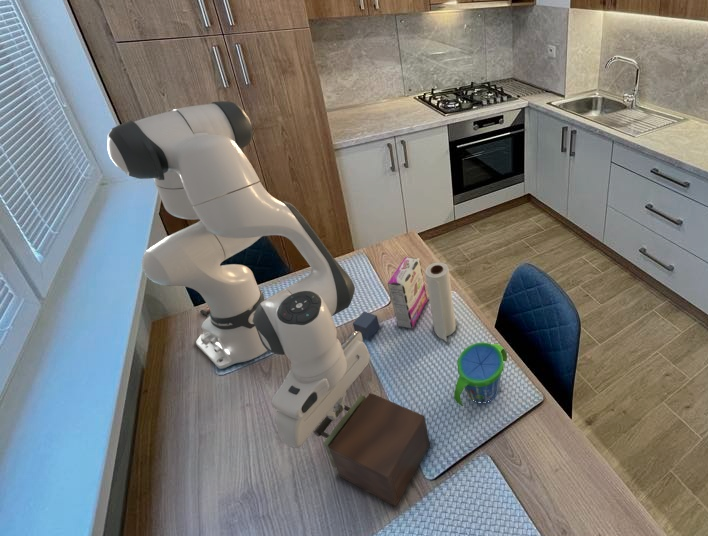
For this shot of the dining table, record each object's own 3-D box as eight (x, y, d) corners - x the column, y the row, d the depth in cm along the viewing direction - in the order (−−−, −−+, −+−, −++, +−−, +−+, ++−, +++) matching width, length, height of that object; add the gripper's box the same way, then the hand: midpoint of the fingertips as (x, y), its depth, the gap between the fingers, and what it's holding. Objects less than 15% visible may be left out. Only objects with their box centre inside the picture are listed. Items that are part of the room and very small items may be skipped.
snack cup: (470, 430, 88) (467, 400, 84) (443, 397, 95) (438, 367, 91) (521, 383, 98) (521, 354, 93) (493, 356, 105) (491, 328, 100)
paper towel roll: (441, 317, 117) (432, 259, 108) (459, 323, 115) (452, 264, 106) (427, 337, 111) (417, 276, 102) (447, 343, 109) (438, 282, 99)
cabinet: (339, 476, 81) (328, 447, 77) (378, 420, 91) (370, 392, 86) (395, 507, 76) (387, 477, 72) (430, 444, 86) (424, 415, 81)
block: (355, 335, 112) (352, 323, 110) (366, 322, 116) (363, 311, 114) (368, 340, 111) (365, 328, 109) (379, 327, 114) (377, 315, 112)
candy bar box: (412, 298, 124) (404, 255, 117) (427, 300, 123) (420, 257, 116) (396, 327, 114) (386, 282, 107) (412, 329, 113) (403, 284, 106)
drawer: (312, 455, 84) (303, 432, 80) (349, 408, 92) (341, 385, 89) (382, 492, 77) (375, 469, 74) (414, 438, 86) (409, 415, 83)
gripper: (347, 322, 87) (359, 366, 93) (262, 409, 70) (284, 456, 76) (370, 330, 85) (381, 375, 91) (288, 423, 68) (309, 470, 74)
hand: (336, 413), depth 83 cm, fingers closed
